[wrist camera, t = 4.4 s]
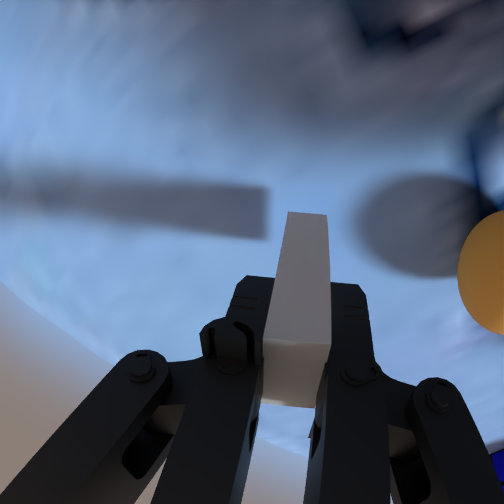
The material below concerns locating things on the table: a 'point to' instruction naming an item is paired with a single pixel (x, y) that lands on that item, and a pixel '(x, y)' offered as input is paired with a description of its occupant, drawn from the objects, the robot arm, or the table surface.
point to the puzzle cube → (499, 465)
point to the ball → (484, 273)
